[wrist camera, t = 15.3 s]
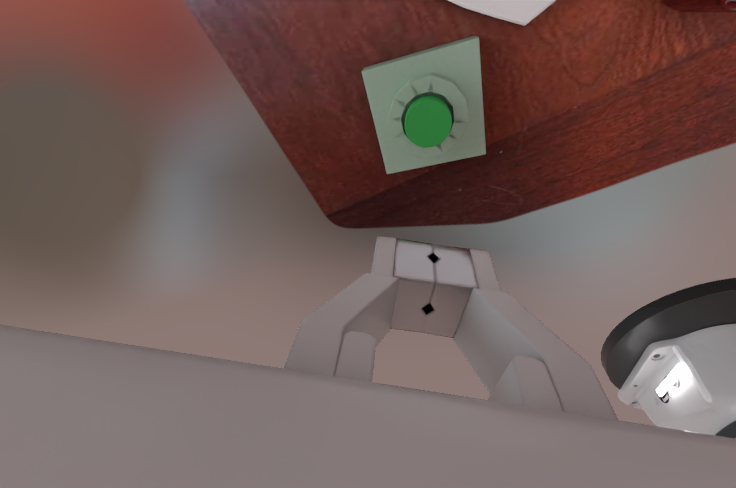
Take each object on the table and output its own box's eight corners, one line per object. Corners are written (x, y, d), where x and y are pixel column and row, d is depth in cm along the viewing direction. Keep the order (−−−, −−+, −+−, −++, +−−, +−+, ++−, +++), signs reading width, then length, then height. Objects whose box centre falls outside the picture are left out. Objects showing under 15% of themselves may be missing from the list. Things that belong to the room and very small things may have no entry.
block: (482, 146, 33) (489, 161, 30) (388, 166, 36) (385, 181, 32) (475, 35, 28) (482, 38, 24) (364, 67, 30) (358, 74, 27)
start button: (452, 135, 29) (454, 142, 28) (409, 145, 30) (409, 152, 29) (447, 89, 27) (449, 94, 26) (400, 101, 28) (400, 106, 27)
